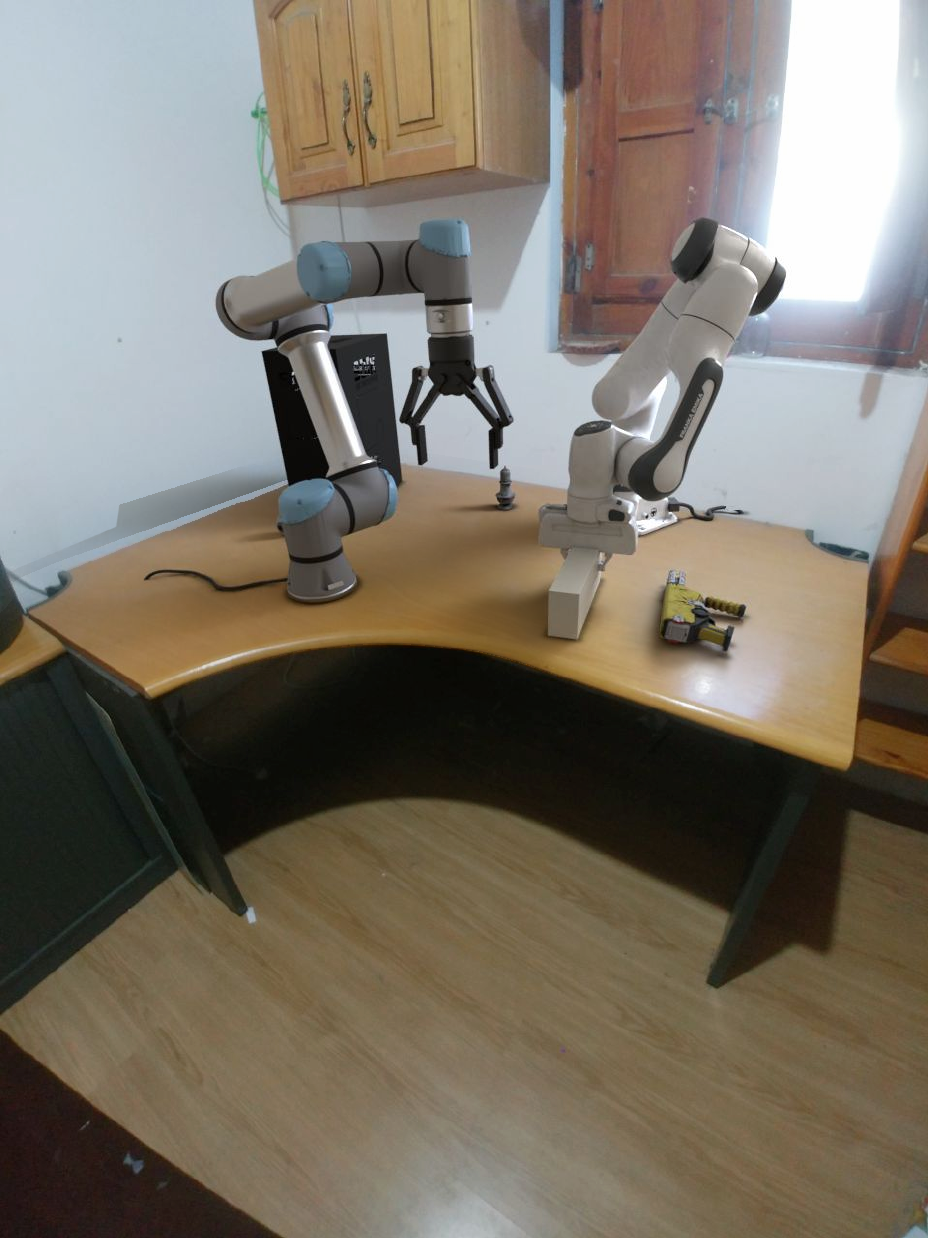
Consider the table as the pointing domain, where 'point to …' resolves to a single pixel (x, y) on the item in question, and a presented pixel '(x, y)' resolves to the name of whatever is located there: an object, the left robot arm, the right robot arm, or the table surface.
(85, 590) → the table surface
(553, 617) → the bar
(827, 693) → the table surface
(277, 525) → the eyeball
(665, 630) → the toy gun
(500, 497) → the grey chess piece
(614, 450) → the right robot arm
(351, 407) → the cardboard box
